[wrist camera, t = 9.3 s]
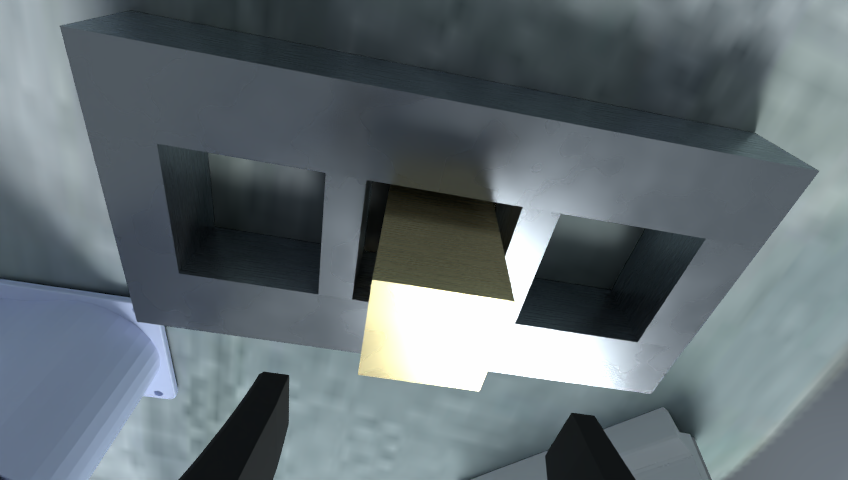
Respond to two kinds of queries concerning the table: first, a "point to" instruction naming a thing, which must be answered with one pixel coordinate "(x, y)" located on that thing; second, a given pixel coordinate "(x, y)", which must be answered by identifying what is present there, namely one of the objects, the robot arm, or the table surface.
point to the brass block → (436, 291)
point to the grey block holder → (416, 168)
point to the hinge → (632, 452)
